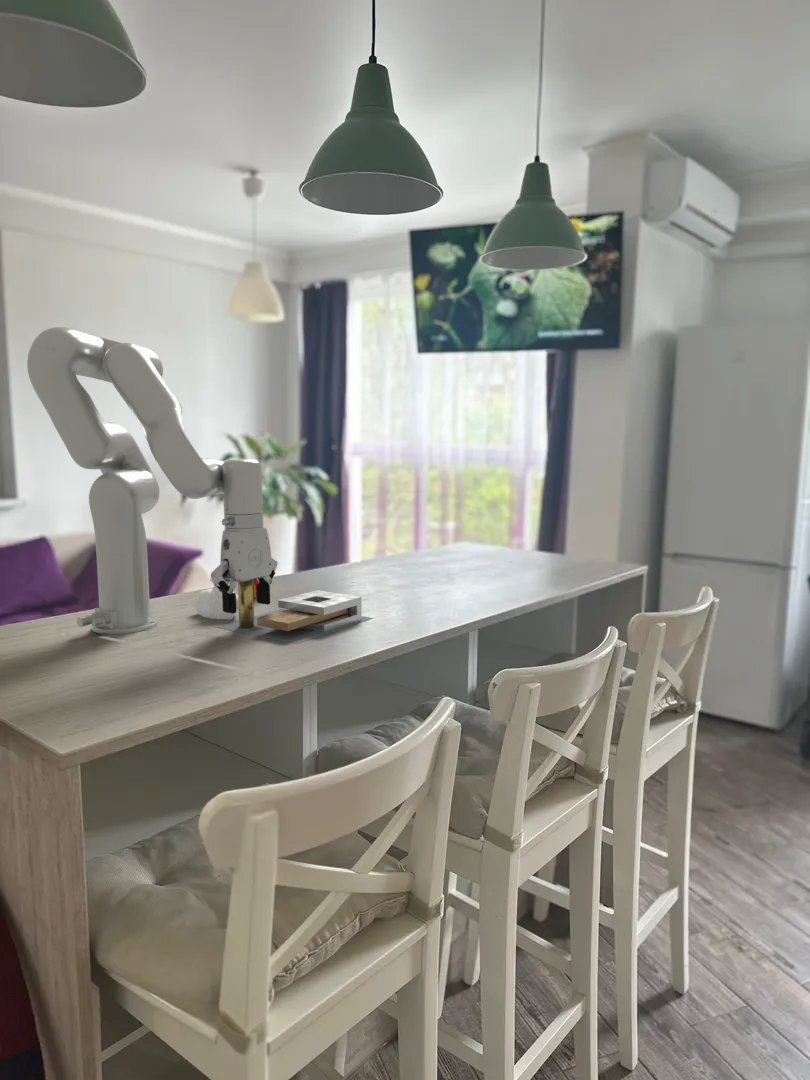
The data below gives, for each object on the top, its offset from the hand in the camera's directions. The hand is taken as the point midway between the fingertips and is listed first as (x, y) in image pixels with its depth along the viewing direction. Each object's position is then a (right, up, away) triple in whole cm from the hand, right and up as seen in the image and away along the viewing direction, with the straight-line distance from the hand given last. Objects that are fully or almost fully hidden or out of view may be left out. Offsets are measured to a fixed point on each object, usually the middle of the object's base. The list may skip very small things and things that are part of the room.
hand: (247, 607), depth 152 cm
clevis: (+12, -4, +1) cm, 13 cm away
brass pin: (0, -4, +1) cm, 4 cm away
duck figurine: (-8, -3, +11) cm, 14 cm away
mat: (+9, -4, +4) cm, 11 cm away
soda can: (-5, 0, +31) cm, 32 cm away
